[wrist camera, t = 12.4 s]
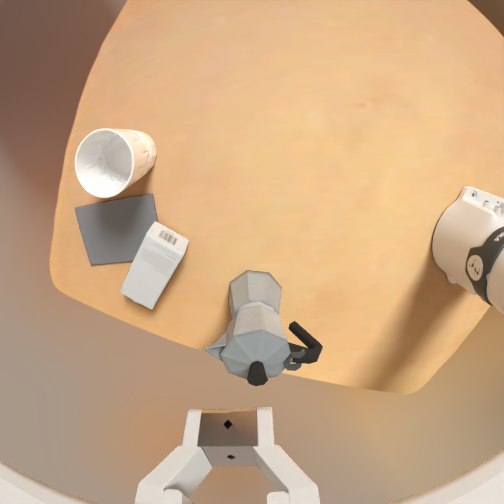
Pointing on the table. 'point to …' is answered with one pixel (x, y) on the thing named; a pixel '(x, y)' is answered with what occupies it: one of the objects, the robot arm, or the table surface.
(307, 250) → the table surface
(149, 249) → the skincare box
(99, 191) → the white cup
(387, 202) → the table surface
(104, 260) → the mat
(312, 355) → the coffee maker
